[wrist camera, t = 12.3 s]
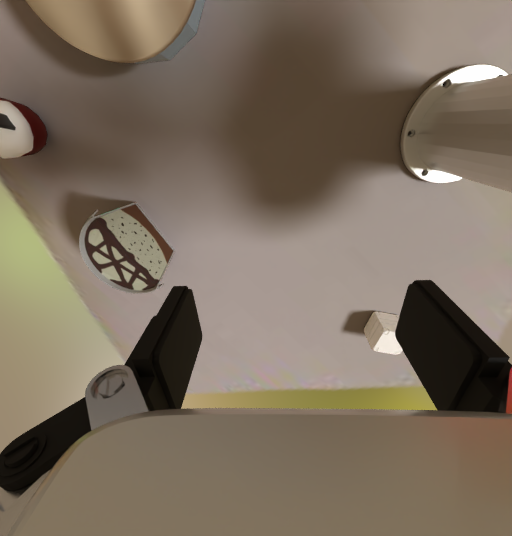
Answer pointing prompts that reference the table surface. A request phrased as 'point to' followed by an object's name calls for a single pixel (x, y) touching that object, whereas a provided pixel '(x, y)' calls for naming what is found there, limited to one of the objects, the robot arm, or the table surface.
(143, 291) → the food container
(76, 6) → the lid
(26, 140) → the cocoa
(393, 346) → the container set
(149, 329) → the robot arm
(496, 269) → the table surface
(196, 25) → the bowl
